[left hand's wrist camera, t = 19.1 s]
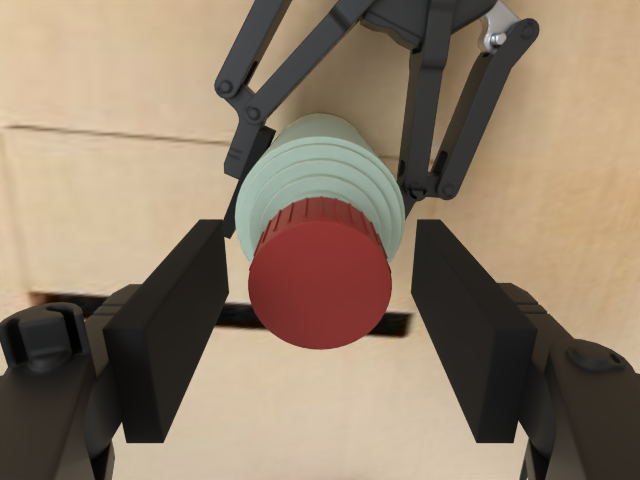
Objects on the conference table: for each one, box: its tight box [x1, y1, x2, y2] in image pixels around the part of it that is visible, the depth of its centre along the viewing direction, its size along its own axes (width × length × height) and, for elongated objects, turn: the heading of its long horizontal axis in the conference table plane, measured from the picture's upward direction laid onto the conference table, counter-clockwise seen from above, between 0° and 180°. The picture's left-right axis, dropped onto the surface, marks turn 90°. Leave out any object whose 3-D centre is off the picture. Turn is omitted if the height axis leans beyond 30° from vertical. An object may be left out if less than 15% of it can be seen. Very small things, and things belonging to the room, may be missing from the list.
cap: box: [248, 196, 392, 350], centre depth 13 cm, size 4×4×3 cm
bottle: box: [235, 113, 405, 264], centre depth 22 cm, size 7×7×20 cm
